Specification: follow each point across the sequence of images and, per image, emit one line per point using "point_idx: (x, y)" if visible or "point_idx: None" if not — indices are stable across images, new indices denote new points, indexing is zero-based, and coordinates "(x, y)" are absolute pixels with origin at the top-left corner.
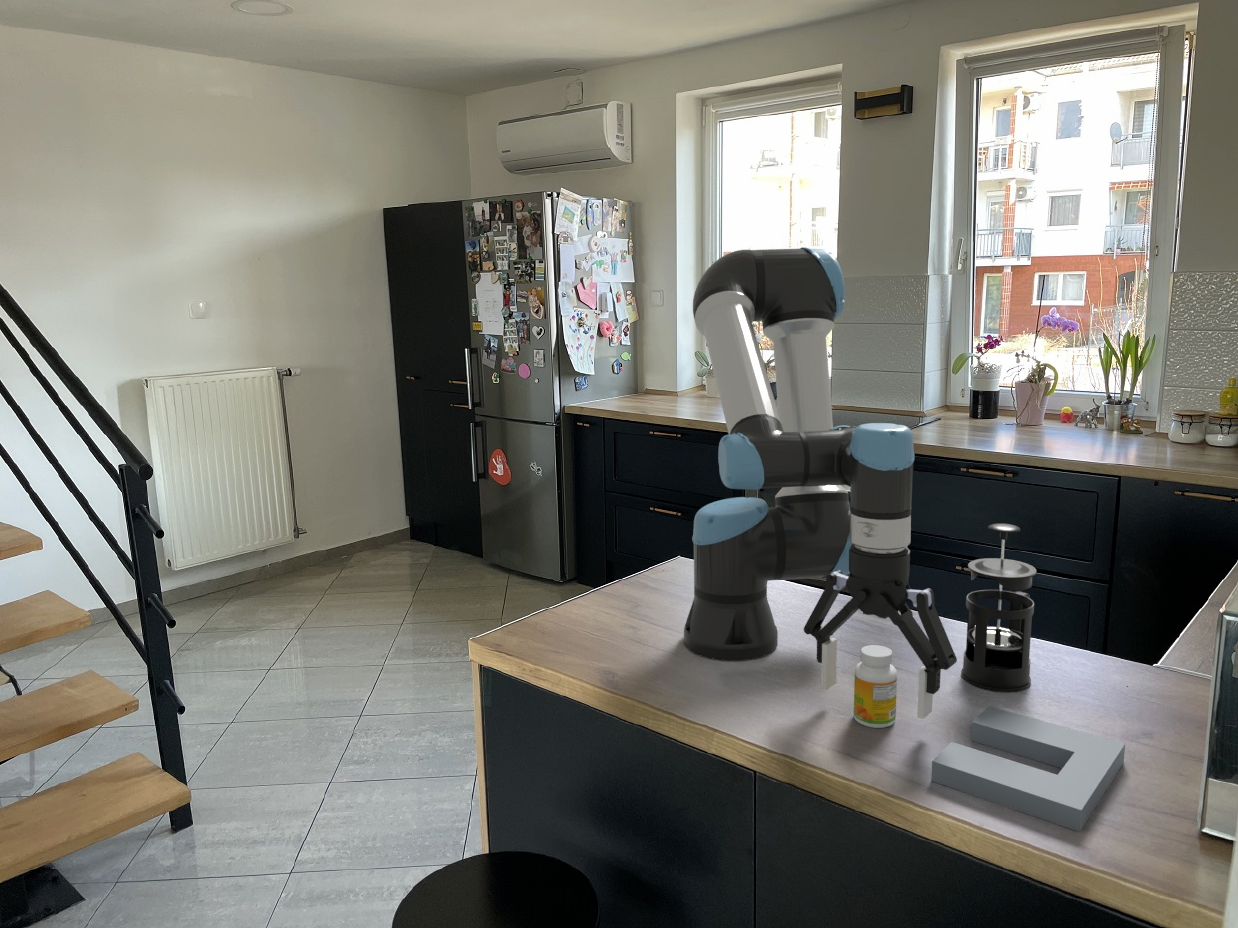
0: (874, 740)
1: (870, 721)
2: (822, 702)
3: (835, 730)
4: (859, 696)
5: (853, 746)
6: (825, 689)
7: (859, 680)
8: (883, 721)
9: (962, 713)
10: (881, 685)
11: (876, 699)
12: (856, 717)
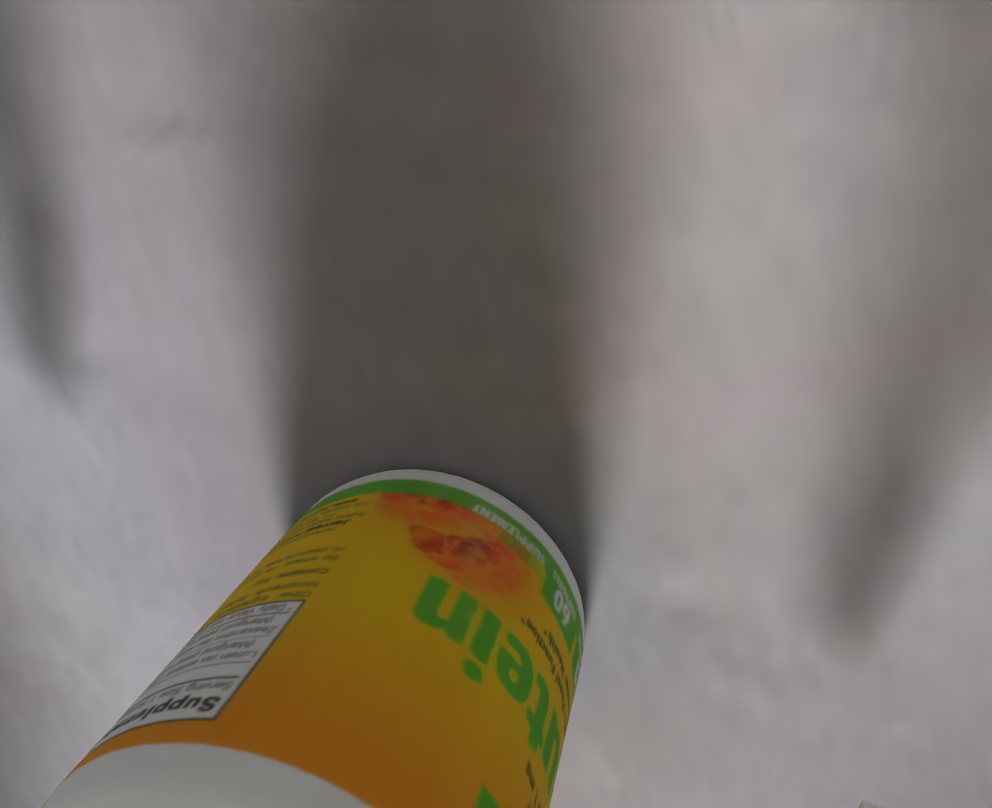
0: (337, 272)
1: (402, 484)
2: (883, 760)
3: (679, 323)
4: (453, 645)
5: (460, 86)
6: (873, 805)
7: (398, 796)
8: (311, 511)
9: (16, 791)
10: (133, 729)
11: (266, 606)
12: (538, 541)
